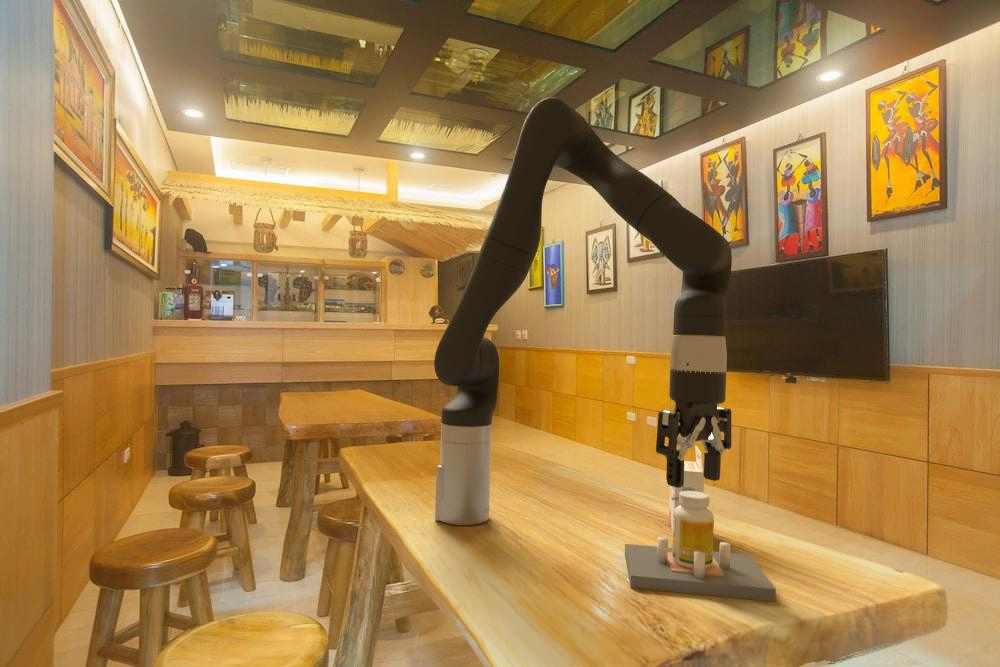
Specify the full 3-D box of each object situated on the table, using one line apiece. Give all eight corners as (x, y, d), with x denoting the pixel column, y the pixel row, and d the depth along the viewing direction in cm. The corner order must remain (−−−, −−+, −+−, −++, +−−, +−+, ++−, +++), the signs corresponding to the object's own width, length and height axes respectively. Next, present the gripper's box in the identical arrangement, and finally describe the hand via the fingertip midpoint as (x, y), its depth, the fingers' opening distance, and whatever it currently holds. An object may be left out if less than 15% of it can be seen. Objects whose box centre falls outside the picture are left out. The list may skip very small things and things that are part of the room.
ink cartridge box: (667, 523, 100) (669, 443, 101) (695, 526, 99) (697, 444, 100) (672, 539, 92) (674, 451, 92) (703, 542, 91) (705, 453, 91)
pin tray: (630, 587, 73) (631, 551, 73) (624, 554, 84) (625, 522, 85) (775, 601, 70) (776, 563, 70) (748, 565, 82) (749, 532, 82)
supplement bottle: (664, 557, 79) (666, 490, 79) (695, 554, 81) (696, 488, 81) (689, 572, 74) (691, 500, 74) (721, 568, 75) (722, 497, 76)
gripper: (690, 369, 71) (685, 496, 70) (750, 370, 79) (746, 483, 79) (643, 366, 77) (639, 482, 76) (704, 366, 85) (700, 472, 85)
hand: (694, 482), depth 77 cm, fingers open, 8 cm apart
